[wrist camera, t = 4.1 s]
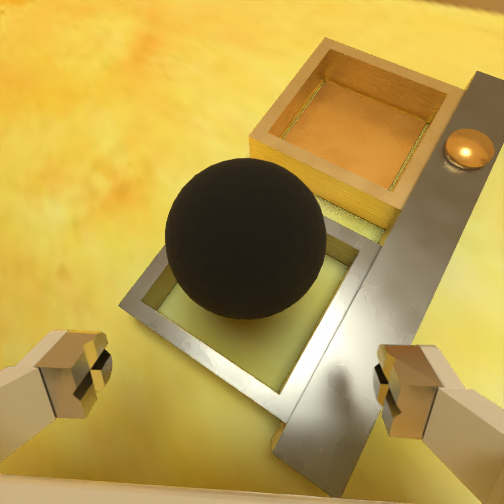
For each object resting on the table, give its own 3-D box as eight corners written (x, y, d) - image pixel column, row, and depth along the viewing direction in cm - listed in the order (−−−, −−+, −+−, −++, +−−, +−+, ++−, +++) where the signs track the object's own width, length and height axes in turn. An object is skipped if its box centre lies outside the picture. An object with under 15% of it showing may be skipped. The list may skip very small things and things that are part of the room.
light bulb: (326, 282, 19) (383, 187, 10) (259, 364, 17) (249, 347, 8) (248, 223, 20) (232, 92, 11) (182, 294, 19) (98, 212, 10)
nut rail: (122, 333, 18) (92, 323, 15) (327, 59, 25) (335, 12, 22) (325, 479, 15) (340, 505, 12) (495, 125, 22) (533, 83, 19)
